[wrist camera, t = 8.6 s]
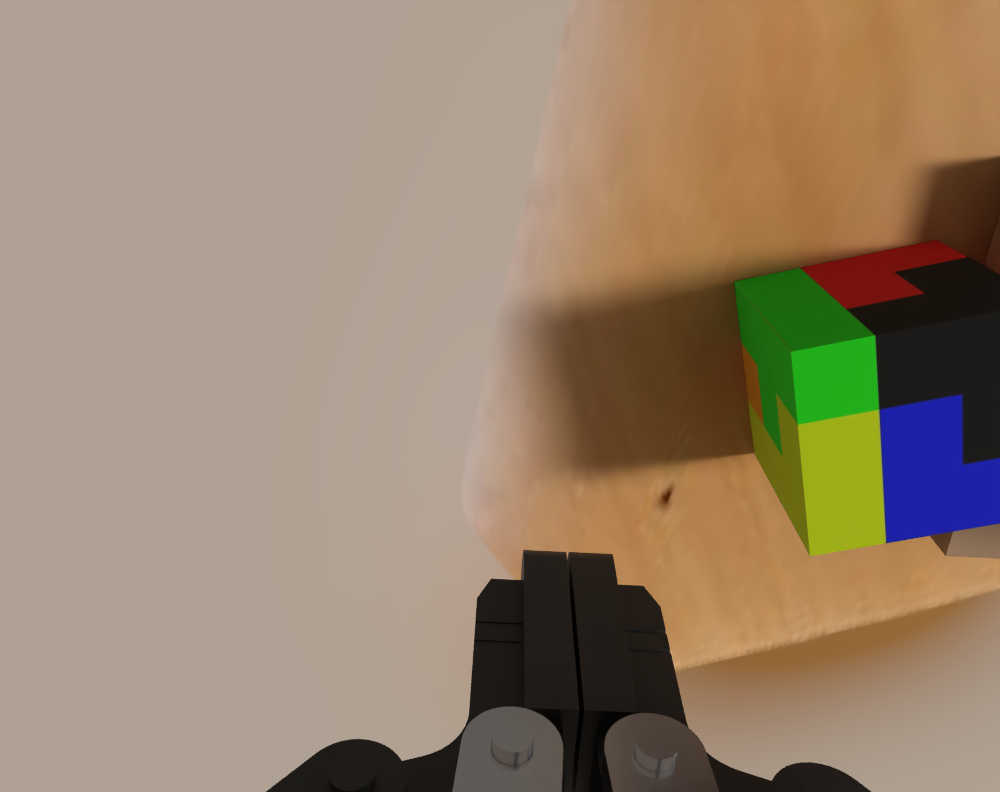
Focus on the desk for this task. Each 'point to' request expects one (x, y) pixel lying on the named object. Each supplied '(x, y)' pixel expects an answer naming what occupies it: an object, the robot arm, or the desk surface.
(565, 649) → the robot arm
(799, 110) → the desk surface
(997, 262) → the block
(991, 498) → the puzzle toy
